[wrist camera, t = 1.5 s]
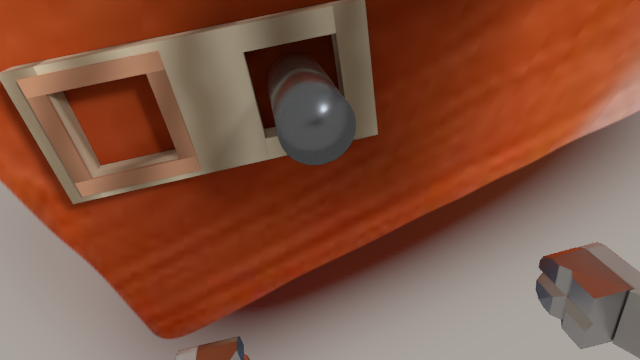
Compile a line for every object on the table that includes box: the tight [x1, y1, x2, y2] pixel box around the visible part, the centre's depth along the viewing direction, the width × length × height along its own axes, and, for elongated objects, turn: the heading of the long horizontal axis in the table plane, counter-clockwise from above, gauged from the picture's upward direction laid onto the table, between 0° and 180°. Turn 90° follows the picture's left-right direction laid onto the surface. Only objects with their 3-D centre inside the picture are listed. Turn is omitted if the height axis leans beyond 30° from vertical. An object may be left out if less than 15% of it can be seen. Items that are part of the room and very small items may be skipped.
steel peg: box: [267, 52, 356, 165], centre depth 26 cm, size 4×4×10 cm
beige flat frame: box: [0, 0, 378, 204], centre depth 29 cm, size 24×10×2 cm, turn 100°
